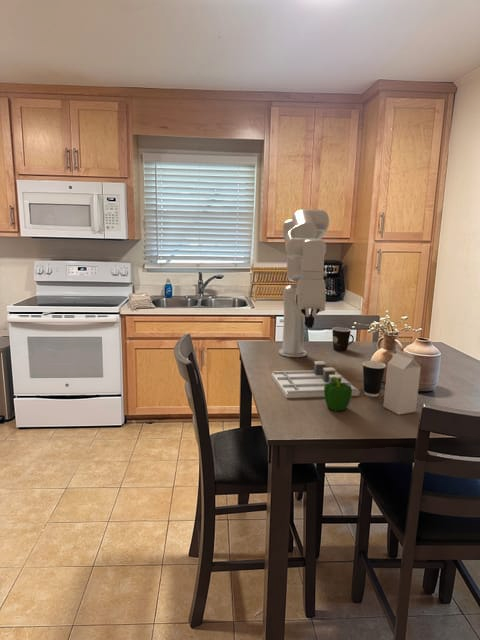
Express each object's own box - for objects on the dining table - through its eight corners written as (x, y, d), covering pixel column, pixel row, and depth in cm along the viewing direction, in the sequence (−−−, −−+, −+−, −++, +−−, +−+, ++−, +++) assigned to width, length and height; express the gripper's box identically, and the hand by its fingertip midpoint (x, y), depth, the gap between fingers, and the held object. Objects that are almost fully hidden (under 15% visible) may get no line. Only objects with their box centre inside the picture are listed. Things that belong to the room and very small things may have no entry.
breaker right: (328, 387, 158) (329, 374, 158) (337, 386, 159) (338, 374, 158) (330, 389, 156) (331, 376, 155) (340, 389, 157) (341, 376, 156)
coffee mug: (328, 347, 219) (330, 327, 217) (345, 347, 220) (347, 327, 218) (336, 354, 208) (337, 332, 206) (354, 353, 209) (355, 333, 207)
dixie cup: (386, 393, 159) (389, 363, 157) (378, 400, 153) (381, 369, 150) (364, 388, 164) (367, 359, 161) (356, 394, 157) (358, 364, 155)
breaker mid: (322, 379, 166) (323, 367, 165) (331, 379, 167) (332, 367, 166) (324, 381, 164) (325, 369, 163) (334, 381, 165) (335, 369, 164)
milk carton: (398, 415, 140) (404, 356, 137) (383, 406, 147) (388, 350, 143) (415, 412, 143) (422, 354, 139) (399, 404, 150) (405, 348, 146)
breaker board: (271, 376, 173) (271, 371, 173) (335, 375, 178) (336, 369, 177) (286, 398, 152) (286, 391, 152) (359, 395, 156) (359, 389, 156)
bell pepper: (354, 412, 142) (357, 382, 140) (331, 414, 140) (333, 383, 138) (341, 402, 150) (343, 373, 148) (319, 404, 148) (321, 375, 145)
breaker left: (313, 372, 174) (314, 361, 173) (322, 372, 174) (323, 361, 174) (315, 374, 172) (316, 363, 171) (324, 374, 172) (325, 363, 171)
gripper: (328, 274, 161) (325, 324, 165) (288, 274, 159) (285, 325, 163) (336, 277, 154) (332, 329, 158) (294, 276, 152) (291, 329, 155)
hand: (308, 327), depth 160 cm, fingers closed
